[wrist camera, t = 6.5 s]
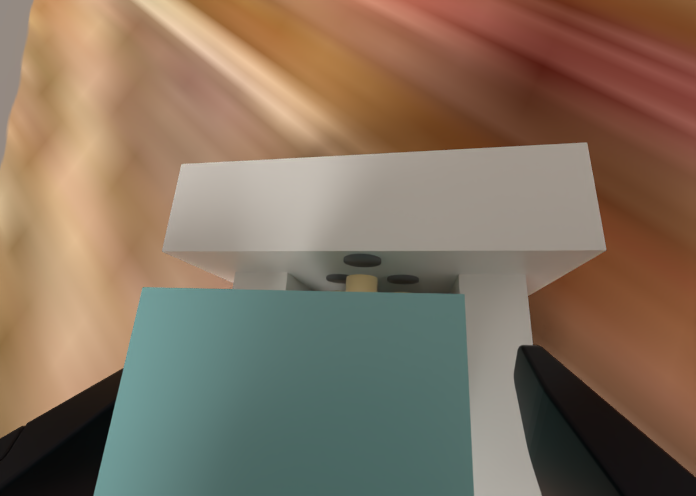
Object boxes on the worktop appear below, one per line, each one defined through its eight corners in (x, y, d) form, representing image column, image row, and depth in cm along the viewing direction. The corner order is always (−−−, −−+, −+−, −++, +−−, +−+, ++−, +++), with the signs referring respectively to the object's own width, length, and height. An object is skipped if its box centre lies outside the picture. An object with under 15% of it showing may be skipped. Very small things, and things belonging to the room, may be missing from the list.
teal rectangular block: (427, 450, 14) (491, 830, 3) (329, 440, 15) (44, 703, 3) (426, 310, 15) (458, 171, 4) (337, 307, 16) (167, 183, 5)
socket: (540, 490, 13) (673, 624, 6) (237, 456, 15) (99, 529, 8) (515, 233, 16) (587, 142, 9) (265, 236, 18) (181, 164, 11)
